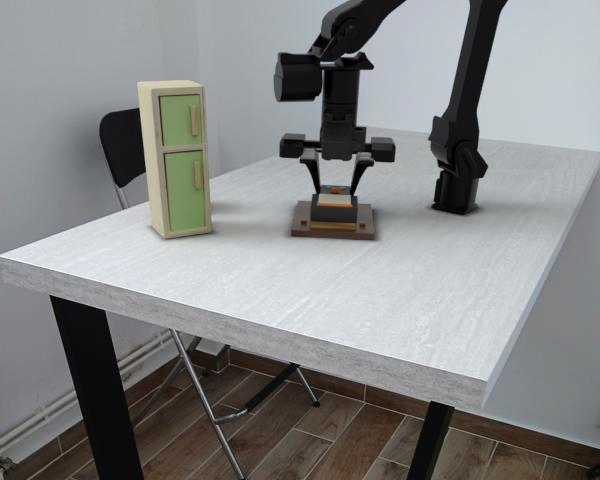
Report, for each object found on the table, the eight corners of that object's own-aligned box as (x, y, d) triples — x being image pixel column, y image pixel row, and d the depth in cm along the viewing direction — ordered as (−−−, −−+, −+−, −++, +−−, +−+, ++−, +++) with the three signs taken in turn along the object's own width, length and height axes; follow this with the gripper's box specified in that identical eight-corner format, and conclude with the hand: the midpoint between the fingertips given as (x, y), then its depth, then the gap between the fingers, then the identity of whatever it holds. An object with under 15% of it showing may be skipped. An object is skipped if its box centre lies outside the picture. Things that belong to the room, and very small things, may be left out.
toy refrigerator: (164, 241, 97) (151, 88, 85) (150, 227, 102) (136, 81, 91) (214, 234, 100) (207, 86, 89) (197, 221, 106) (189, 79, 94)
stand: (373, 240, 100) (374, 229, 99) (290, 236, 101) (291, 225, 100) (370, 209, 114) (371, 200, 113) (297, 206, 114) (298, 196, 114)
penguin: (356, 223, 103) (358, 204, 101) (310, 220, 103) (310, 201, 101) (356, 200, 112) (357, 182, 110) (313, 198, 112) (314, 180, 110)
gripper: (276, 107, 95) (275, 212, 104) (402, 112, 94) (391, 217, 103) (282, 95, 104) (281, 192, 113) (398, 100, 103) (388, 197, 112)
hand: (334, 200), depth 110 cm, fingers closed on penguin, 5 cm apart
